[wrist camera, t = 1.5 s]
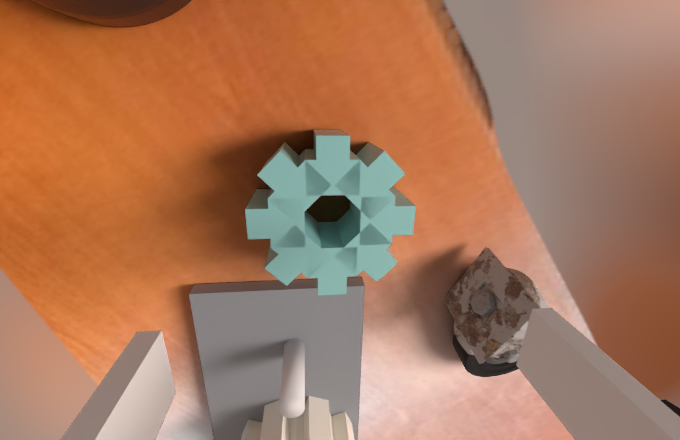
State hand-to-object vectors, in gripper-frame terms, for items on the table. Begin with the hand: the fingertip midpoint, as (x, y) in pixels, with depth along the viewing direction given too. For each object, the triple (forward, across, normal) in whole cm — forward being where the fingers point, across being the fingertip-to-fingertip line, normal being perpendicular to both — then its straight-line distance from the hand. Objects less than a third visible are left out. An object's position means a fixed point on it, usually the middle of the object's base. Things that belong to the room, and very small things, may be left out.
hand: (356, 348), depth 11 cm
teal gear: (+15, 0, +1) cm, 15 cm away
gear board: (+14, -4, -17) cm, 23 cm away
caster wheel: (+15, +16, -10) cm, 24 cm away
